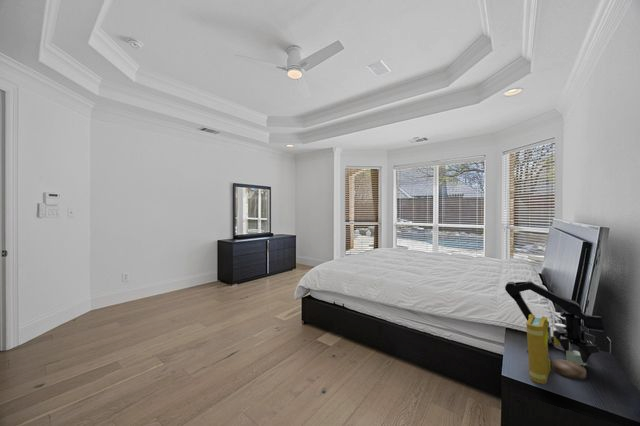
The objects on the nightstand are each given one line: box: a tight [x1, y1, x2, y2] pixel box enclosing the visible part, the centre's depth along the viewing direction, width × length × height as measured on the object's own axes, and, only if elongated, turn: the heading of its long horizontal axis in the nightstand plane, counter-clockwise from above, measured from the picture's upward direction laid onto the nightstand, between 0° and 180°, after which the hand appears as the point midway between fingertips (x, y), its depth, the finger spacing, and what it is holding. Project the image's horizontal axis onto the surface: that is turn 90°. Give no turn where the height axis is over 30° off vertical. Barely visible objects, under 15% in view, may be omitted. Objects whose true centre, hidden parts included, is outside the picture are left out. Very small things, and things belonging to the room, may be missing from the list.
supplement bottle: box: [552, 322, 571, 351], centre depth 145 cm, size 7×7×13 cm
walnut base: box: [550, 358, 587, 380], centre depth 123 cm, size 12×12×2 cm
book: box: [526, 314, 552, 385], centre depth 122 cm, size 17×7×25 cm, turn 134°
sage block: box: [565, 350, 587, 367], centre depth 130 cm, size 5×5×5 cm
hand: (575, 358), depth 130 cm, fingers open, 9 cm apart
